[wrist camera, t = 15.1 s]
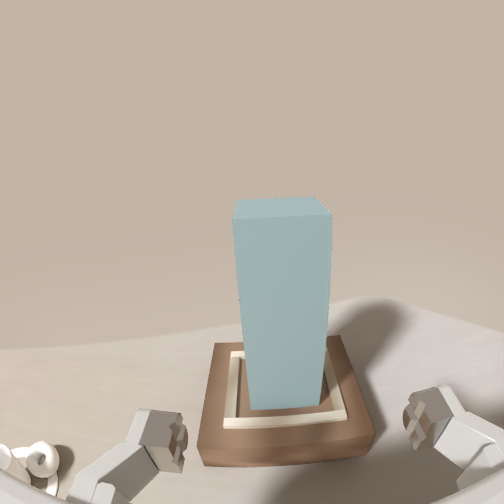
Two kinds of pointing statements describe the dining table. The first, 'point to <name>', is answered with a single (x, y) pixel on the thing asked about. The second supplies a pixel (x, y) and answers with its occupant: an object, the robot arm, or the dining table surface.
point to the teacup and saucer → (32, 463)
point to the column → (283, 297)
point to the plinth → (281, 416)
